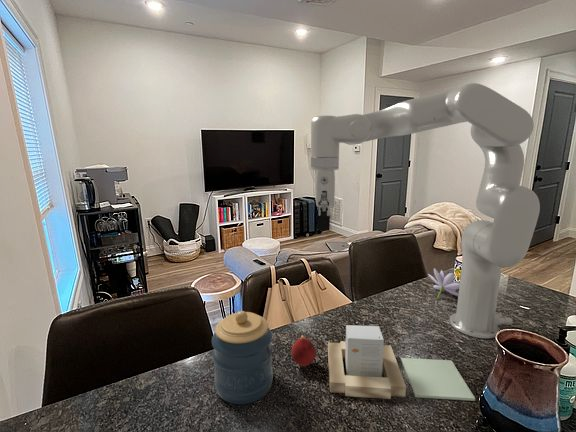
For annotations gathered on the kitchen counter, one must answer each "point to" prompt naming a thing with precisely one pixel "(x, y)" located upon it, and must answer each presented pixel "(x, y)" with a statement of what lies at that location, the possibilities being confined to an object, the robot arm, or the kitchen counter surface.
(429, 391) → the pad
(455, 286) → the water lily
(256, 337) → the canister
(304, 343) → the red round piece
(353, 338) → the small box
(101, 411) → the kitchen counter surface
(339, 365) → the wooden square frame
